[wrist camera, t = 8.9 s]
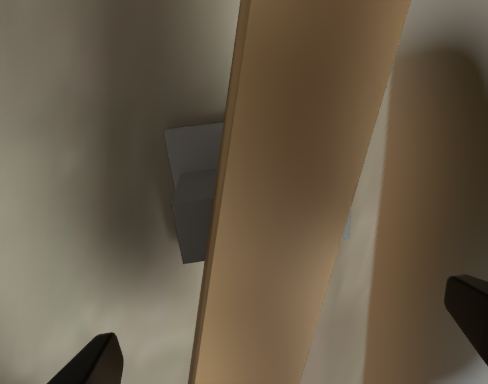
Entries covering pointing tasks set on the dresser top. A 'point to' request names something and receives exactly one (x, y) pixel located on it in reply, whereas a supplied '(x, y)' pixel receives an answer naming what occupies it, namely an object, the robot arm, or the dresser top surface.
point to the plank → (287, 178)
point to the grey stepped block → (197, 185)
